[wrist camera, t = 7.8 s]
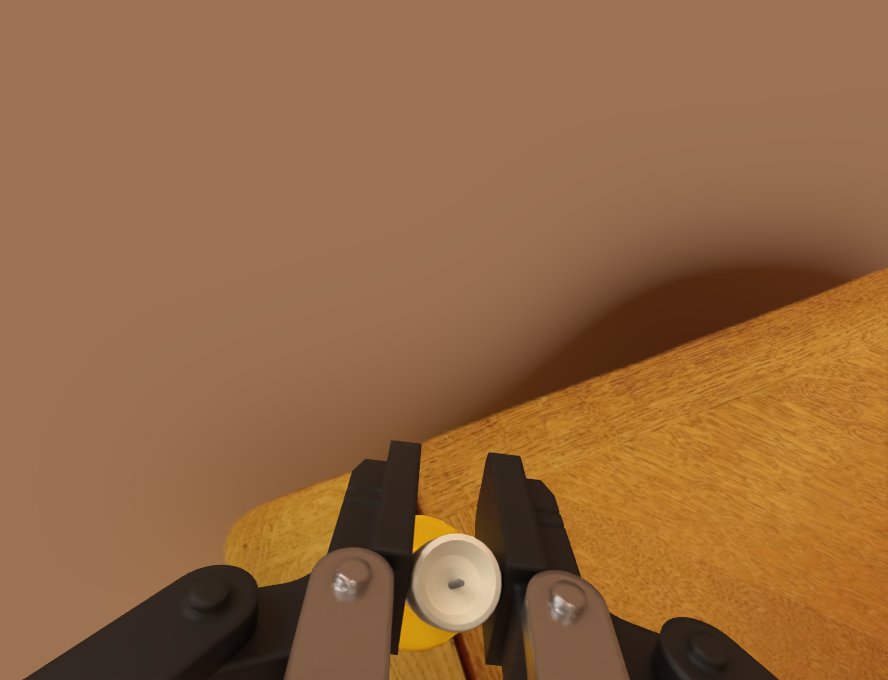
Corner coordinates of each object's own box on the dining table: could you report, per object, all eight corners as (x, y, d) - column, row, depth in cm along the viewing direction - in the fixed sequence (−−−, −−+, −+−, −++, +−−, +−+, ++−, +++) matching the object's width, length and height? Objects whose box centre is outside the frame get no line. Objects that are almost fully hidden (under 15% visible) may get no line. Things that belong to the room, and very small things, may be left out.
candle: (427, 680, 20) (512, 915, 6) (328, 594, 21) (205, 624, 7) (498, 565, 22) (684, 542, 8) (405, 492, 23) (429, 358, 9)
